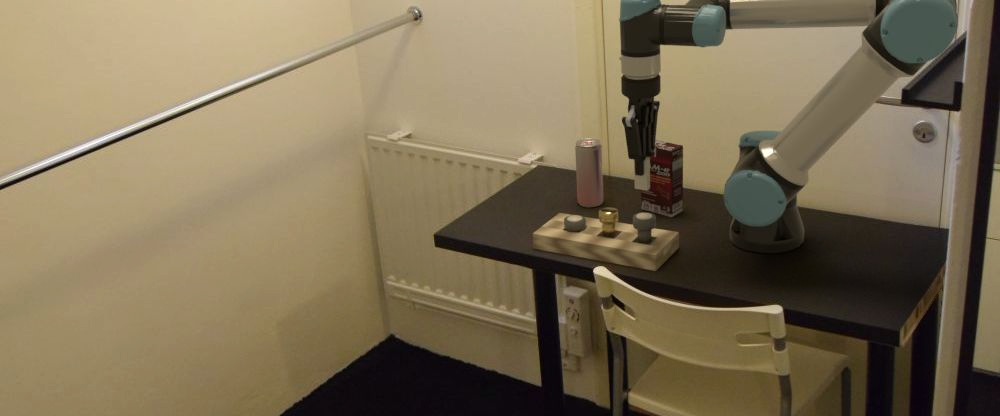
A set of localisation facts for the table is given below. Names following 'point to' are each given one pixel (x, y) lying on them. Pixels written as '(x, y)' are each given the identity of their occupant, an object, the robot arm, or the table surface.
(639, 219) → the knob near
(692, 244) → the table surface
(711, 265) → the table surface
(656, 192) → the supplement box
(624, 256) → the board
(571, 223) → the knob far
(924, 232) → the table surface
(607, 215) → the pot knob
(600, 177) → the beverage can
